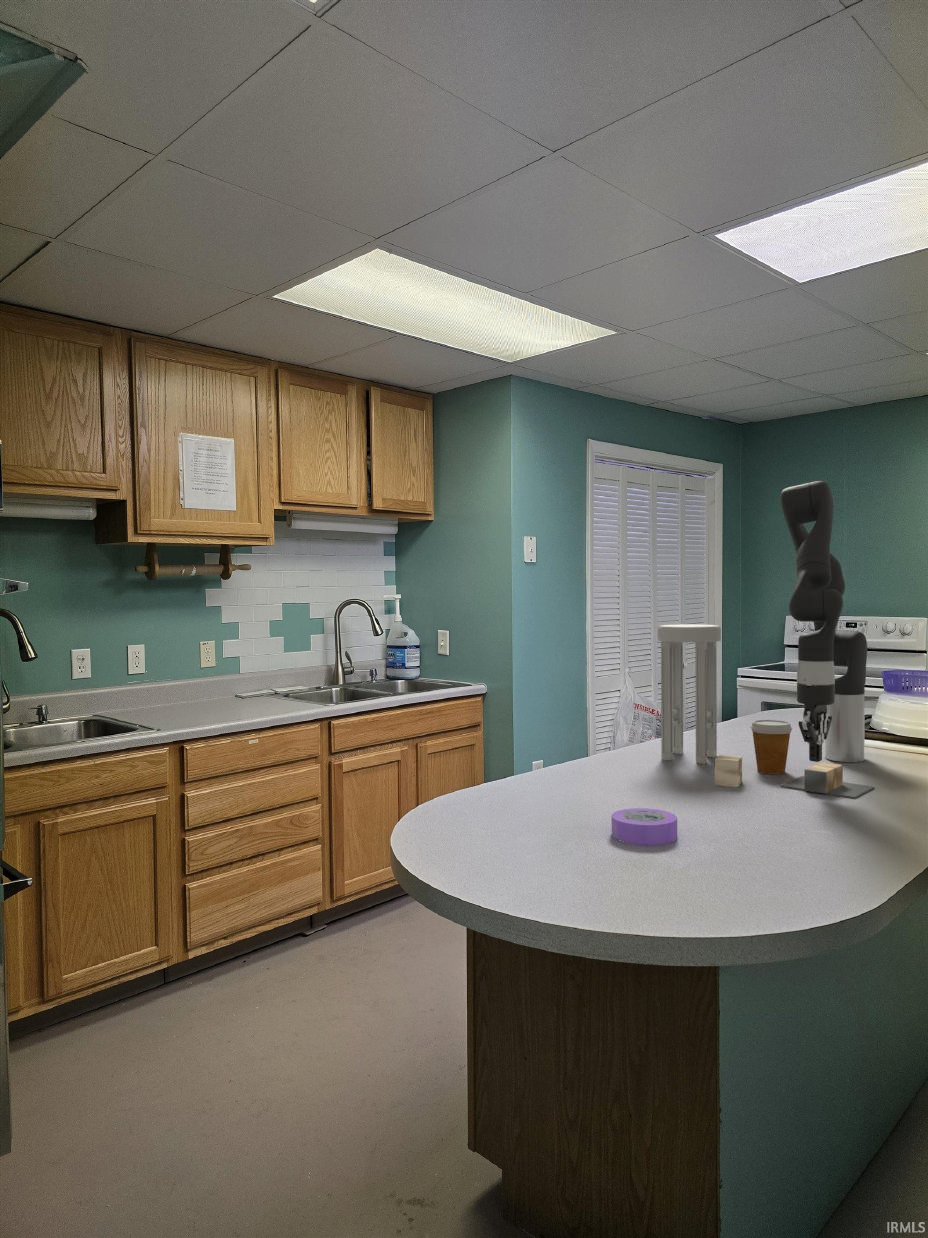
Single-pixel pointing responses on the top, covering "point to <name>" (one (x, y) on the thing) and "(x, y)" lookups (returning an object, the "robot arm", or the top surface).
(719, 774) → the maple block
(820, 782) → the oak block
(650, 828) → the masking tape
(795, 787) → the mat
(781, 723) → the disposable coffee cup
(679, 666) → the stool
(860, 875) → the top surface
